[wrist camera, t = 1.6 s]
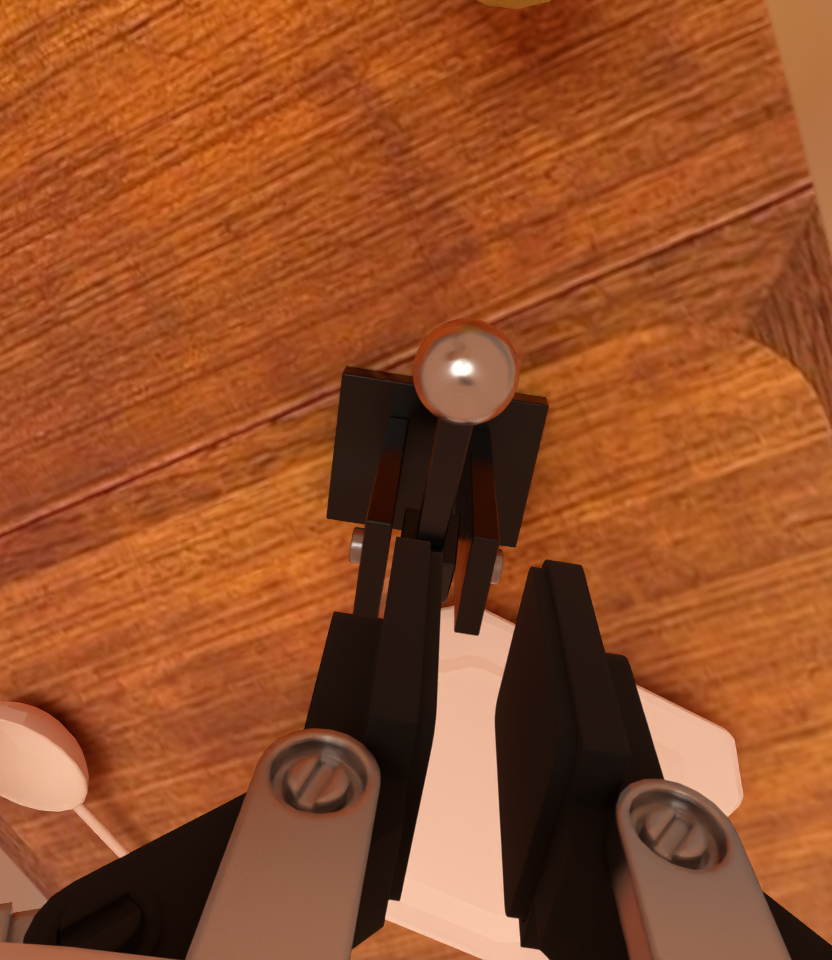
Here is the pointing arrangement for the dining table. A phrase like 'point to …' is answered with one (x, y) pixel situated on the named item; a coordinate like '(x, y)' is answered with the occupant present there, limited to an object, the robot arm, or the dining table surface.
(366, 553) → the switch bracket
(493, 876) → the plate
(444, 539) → the lever
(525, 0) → the light bulb
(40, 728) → the ladle
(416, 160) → the dining table surface
